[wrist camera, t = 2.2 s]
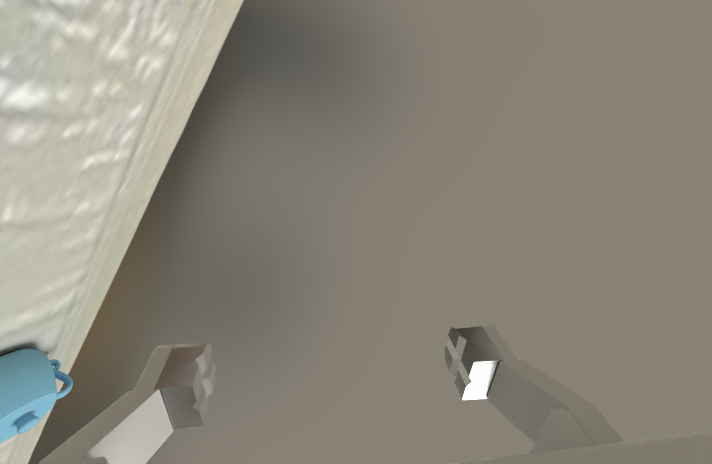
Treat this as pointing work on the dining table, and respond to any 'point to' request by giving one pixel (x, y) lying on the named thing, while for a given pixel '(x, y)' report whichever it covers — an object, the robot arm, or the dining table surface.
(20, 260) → the dining table surface
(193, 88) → the dining table surface
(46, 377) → the teapot
